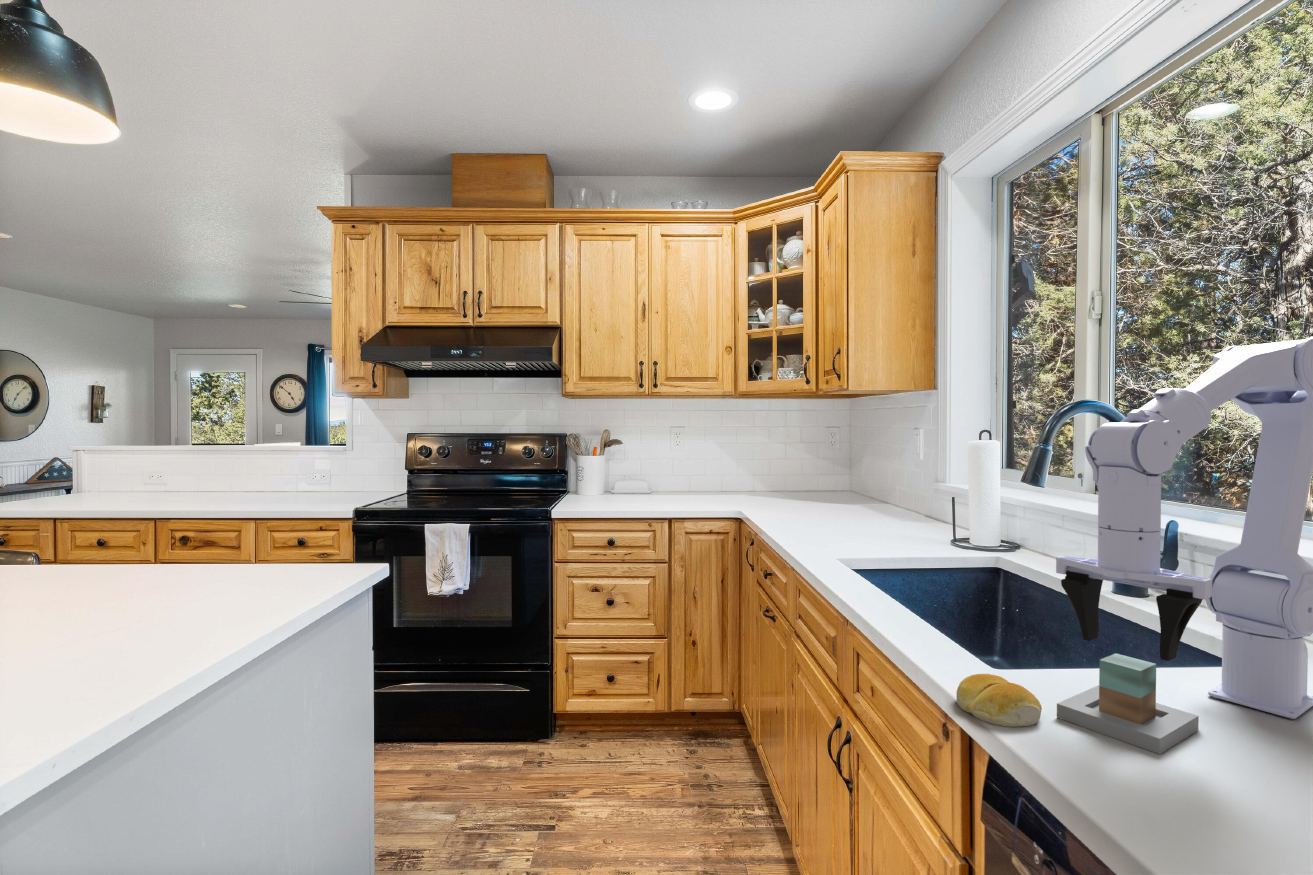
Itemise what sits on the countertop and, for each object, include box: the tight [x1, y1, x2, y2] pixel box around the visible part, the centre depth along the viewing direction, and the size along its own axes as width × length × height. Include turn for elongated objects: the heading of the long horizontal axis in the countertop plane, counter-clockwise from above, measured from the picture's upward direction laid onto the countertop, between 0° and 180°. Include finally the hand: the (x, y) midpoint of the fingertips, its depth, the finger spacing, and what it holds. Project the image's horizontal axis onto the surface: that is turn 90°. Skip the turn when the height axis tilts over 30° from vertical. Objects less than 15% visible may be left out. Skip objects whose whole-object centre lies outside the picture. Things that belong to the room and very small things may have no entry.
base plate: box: [1056, 685, 1200, 755], centre depth 73 cm, size 10×10×2 cm
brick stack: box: [1098, 653, 1157, 725], centre depth 73 cm, size 4×4×6 cm
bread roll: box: [956, 673, 1043, 728], centre depth 77 cm, size 8×9×4 cm
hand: (1127, 648), depth 73 cm, fingers open, 7 cm apart
